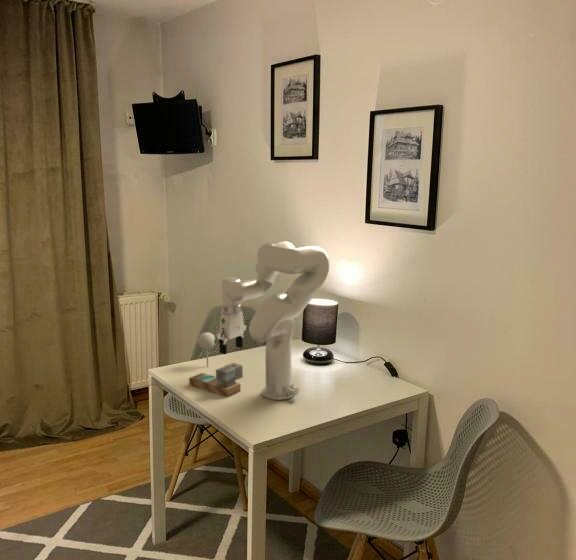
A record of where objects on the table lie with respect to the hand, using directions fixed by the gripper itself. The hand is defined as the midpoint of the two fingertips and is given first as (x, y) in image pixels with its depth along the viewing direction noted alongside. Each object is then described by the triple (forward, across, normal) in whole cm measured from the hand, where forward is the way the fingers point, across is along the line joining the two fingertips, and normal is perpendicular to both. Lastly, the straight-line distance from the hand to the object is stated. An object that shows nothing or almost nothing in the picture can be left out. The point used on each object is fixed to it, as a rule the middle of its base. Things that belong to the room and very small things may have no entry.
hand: (231, 350), depth 225 cm
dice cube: (+11, 0, -1) cm, 11 cm away
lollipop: (+12, +3, +16) cm, 20 cm away
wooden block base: (+11, -13, -3) cm, 17 cm away
